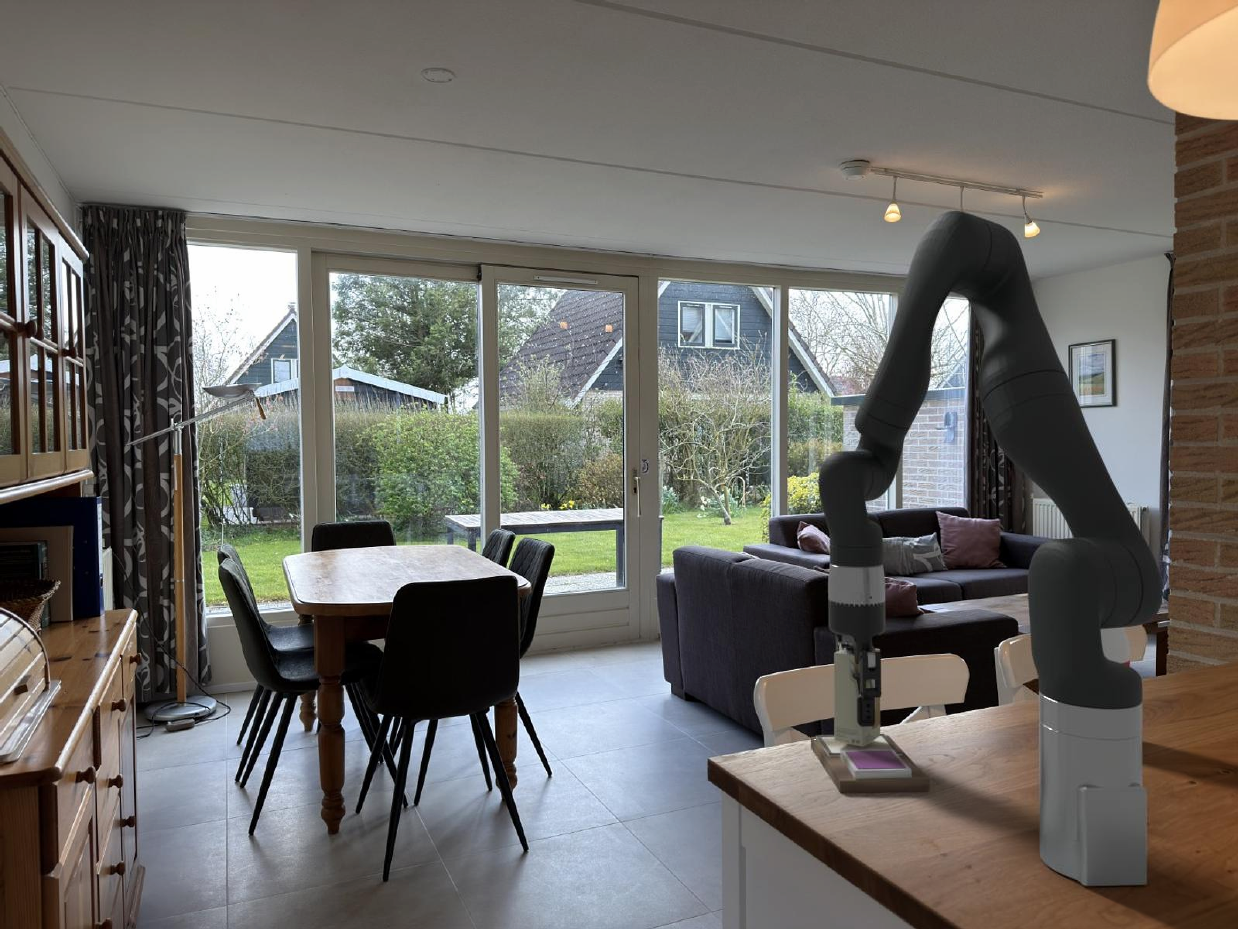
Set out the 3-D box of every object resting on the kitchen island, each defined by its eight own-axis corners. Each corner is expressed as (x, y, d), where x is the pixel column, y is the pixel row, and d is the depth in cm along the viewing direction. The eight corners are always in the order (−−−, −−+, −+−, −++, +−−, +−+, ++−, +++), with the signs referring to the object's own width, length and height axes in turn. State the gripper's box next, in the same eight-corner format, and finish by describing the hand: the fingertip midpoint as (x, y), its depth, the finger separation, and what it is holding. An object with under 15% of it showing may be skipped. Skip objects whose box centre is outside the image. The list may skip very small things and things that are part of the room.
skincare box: (863, 748, 116) (863, 657, 115) (833, 742, 118) (832, 652, 118) (882, 735, 121) (881, 647, 120) (852, 729, 123) (851, 643, 123)
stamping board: (929, 791, 107) (929, 770, 107) (840, 793, 107) (839, 772, 107) (888, 745, 123) (888, 727, 123) (810, 747, 123) (810, 729, 123)
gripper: (901, 606, 112) (902, 733, 112) (868, 587, 126) (870, 700, 127) (842, 607, 112) (844, 734, 112) (817, 588, 126) (818, 701, 127)
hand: (857, 716), depth 119 cm, fingers closed on skincare box, 7 cm apart
